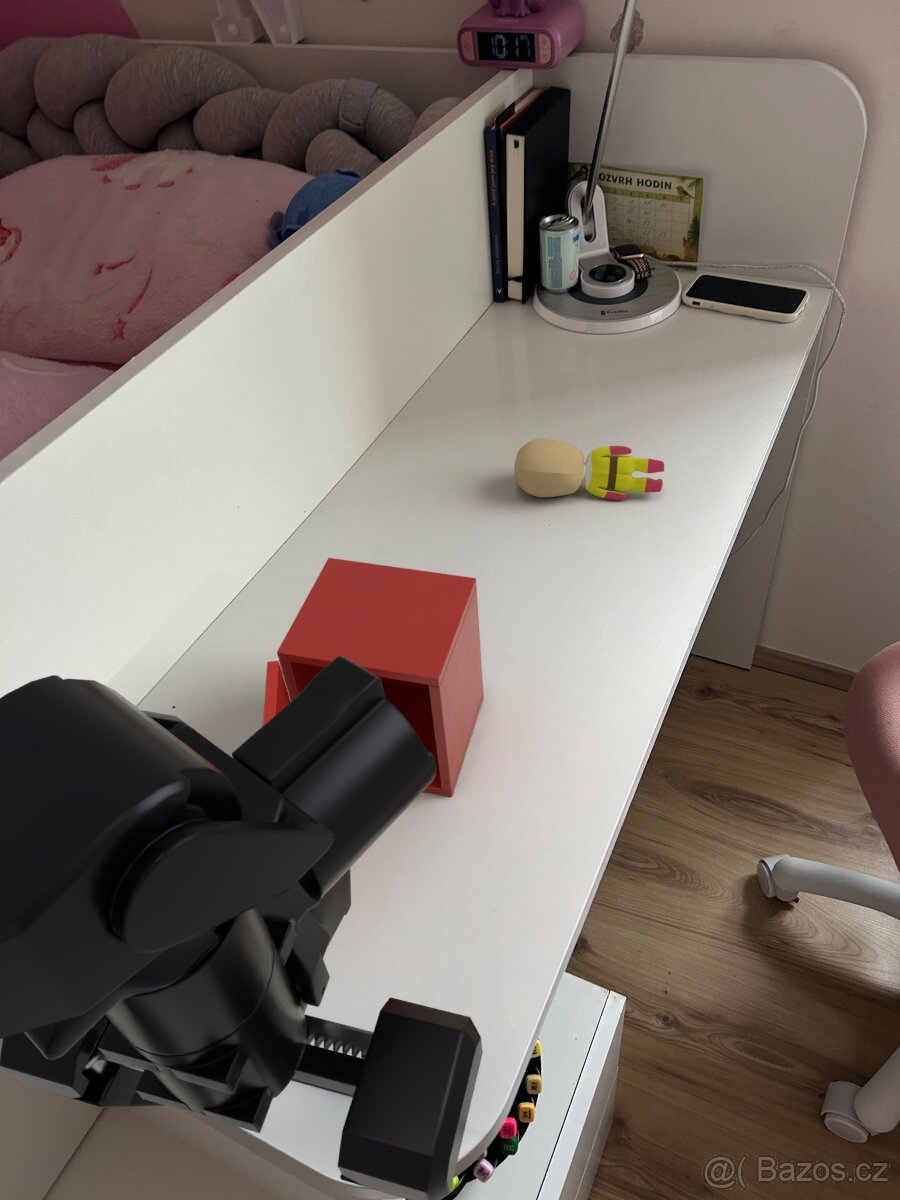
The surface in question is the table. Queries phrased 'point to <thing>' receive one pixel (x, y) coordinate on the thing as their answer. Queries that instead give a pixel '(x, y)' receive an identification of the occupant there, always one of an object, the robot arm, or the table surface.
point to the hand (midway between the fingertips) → (281, 1117)
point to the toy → (582, 470)
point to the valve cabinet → (398, 648)
